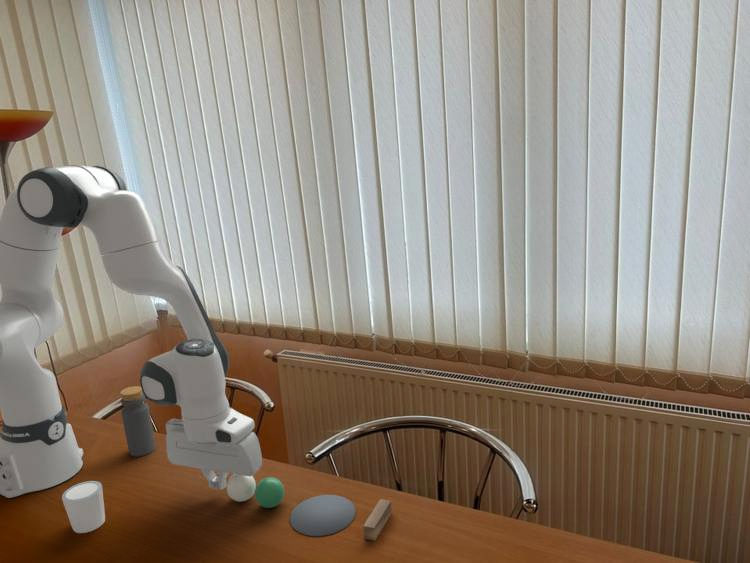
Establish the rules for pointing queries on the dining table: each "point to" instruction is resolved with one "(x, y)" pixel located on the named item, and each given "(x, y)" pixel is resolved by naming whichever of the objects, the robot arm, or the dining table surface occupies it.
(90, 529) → the shot glass
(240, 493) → the cue ball
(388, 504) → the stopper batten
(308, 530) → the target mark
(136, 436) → the bottle
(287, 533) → the dining table surface
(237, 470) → the robot arm
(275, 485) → the green ball
